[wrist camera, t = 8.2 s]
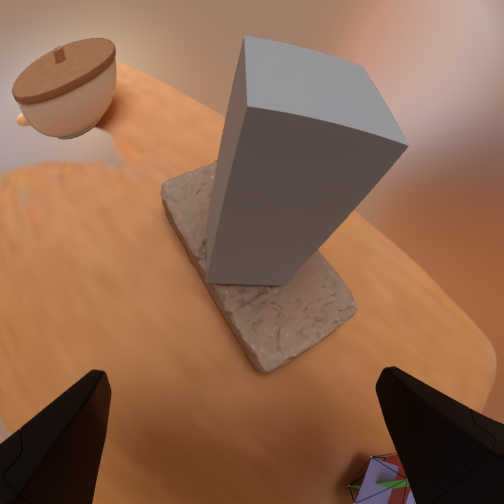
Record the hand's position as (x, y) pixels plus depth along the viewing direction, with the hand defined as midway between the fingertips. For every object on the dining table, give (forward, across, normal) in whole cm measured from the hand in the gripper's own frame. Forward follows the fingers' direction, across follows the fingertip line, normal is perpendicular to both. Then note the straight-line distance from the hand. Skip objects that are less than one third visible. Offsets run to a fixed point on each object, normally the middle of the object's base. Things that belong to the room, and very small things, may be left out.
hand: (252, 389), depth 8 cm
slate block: (+12, -1, 0) cm, 12 cm away
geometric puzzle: (+2, -12, +17) cm, 21 cm away
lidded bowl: (+29, +20, -10) cm, 36 cm away
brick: (+16, -2, +3) cm, 17 cm away
